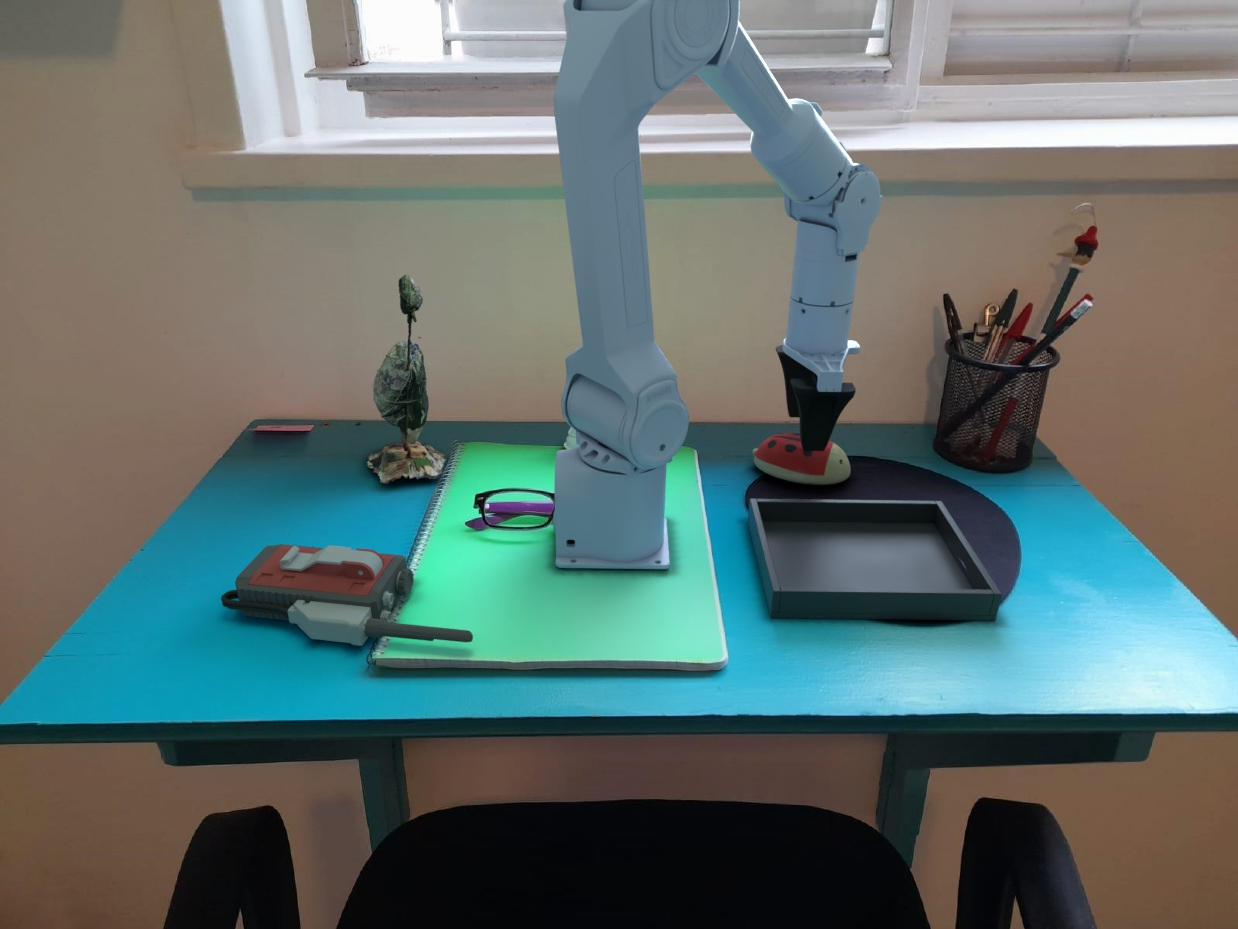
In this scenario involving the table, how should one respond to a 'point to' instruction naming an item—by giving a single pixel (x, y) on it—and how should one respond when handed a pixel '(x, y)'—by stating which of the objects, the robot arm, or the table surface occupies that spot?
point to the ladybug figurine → (801, 461)
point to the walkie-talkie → (331, 593)
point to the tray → (867, 561)
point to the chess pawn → (571, 439)
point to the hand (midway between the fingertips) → (805, 432)
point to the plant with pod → (405, 402)
